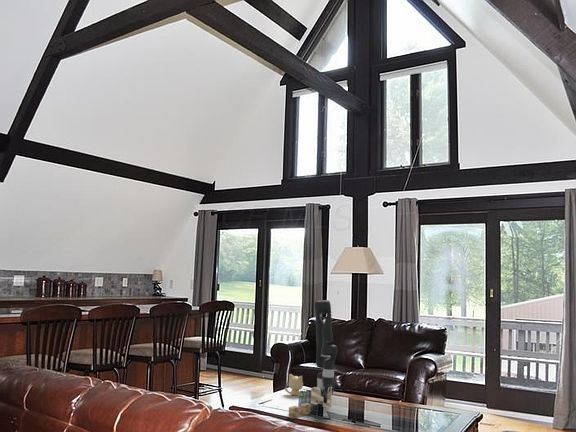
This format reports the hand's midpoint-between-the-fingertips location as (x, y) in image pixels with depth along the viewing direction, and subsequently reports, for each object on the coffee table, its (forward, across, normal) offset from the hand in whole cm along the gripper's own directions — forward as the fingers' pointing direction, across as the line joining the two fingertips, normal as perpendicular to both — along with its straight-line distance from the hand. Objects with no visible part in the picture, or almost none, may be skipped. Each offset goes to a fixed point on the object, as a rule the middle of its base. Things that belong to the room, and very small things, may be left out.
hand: (326, 402), depth 336 cm
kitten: (+9, -25, -44) cm, 52 cm away
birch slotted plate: (+3, 0, -4) cm, 5 cm away
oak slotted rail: (+7, +16, -10) cm, 20 cm away
